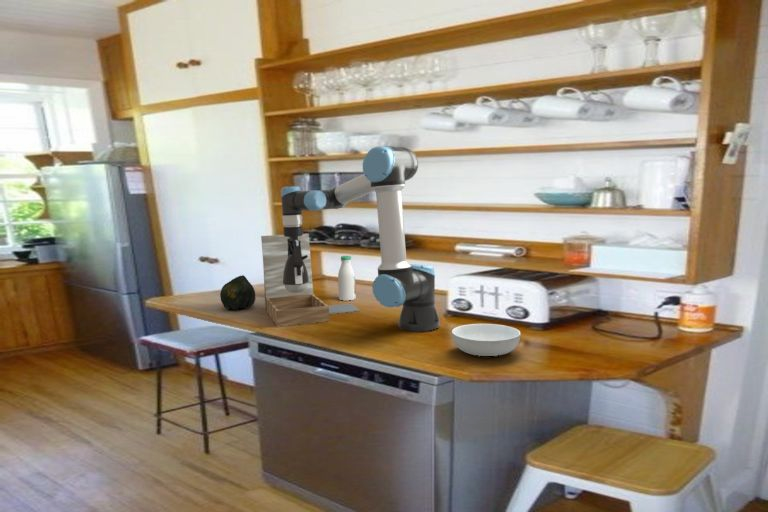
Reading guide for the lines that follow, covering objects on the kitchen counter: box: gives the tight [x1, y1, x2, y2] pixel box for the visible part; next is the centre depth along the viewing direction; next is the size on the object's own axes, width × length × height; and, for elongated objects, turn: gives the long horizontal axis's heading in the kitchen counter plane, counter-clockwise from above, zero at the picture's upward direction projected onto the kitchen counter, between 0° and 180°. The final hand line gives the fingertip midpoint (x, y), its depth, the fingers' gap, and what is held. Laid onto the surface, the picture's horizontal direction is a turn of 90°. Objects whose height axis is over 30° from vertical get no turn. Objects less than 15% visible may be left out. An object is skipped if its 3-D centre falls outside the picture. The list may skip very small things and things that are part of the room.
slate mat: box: [327, 302, 361, 315], centre depth 236 cm, size 14×14×1 cm
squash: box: [219, 274, 256, 310], centre depth 242 cm, size 14×15×15 cm
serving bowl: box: [451, 323, 521, 357], centre depth 172 cm, size 21×21×7 cm
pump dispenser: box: [283, 254, 309, 293], centre depth 222 cm, size 10×10×15 cm
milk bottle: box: [337, 255, 357, 302], centre depth 254 cm, size 8×8×20 cm
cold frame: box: [260, 233, 330, 328], centre depth 225 cm, size 32×20×32 cm, turn 21°
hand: (296, 281), depth 222 cm, fingers closed on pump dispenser, 10 cm apart
